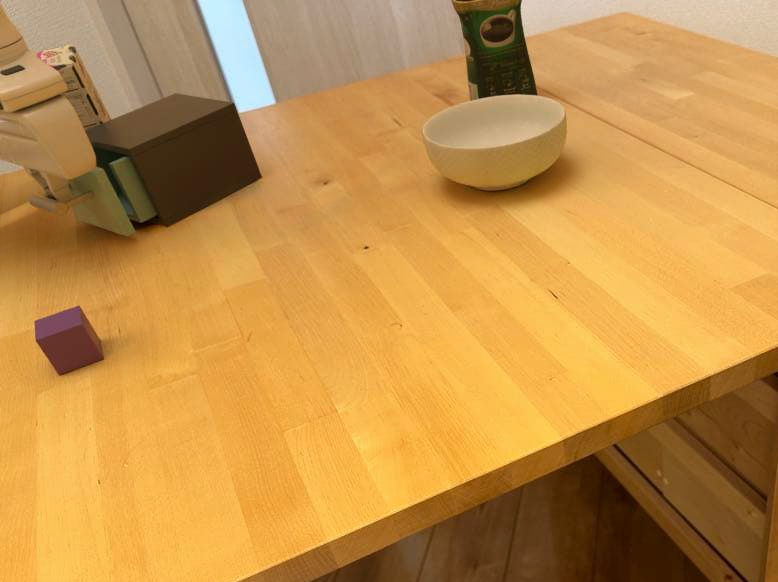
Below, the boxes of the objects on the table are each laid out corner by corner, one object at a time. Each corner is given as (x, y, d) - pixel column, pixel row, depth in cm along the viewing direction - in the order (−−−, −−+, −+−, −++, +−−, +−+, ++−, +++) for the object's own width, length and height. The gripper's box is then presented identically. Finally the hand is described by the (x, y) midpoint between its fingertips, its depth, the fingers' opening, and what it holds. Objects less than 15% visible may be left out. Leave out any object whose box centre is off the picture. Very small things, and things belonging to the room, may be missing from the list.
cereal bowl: (590, 187, 86) (585, 125, 82) (448, 222, 84) (435, 160, 80) (548, 137, 99) (541, 81, 95) (423, 166, 97) (410, 111, 92)
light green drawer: (90, 256, 87) (53, 191, 82) (41, 236, 93) (3, 175, 88) (221, 188, 97) (195, 127, 92) (169, 175, 103) (143, 116, 98)
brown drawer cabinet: (167, 227, 92) (129, 149, 86) (111, 209, 99) (72, 135, 93) (262, 177, 101) (234, 102, 95) (205, 163, 107) (175, 93, 101)
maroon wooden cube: (56, 355, 73) (33, 320, 70) (100, 339, 74) (79, 305, 72) (59, 375, 70) (35, 340, 68) (104, 359, 71) (82, 323, 69)
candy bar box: (97, 170, 111) (35, 51, 100) (132, 160, 112) (75, 42, 102) (97, 197, 103) (30, 71, 92) (136, 186, 104) (74, 61, 93)
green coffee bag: (528, 89, 114) (510, -52, 103) (543, 105, 108) (525, -43, 97) (466, 103, 113) (440, -38, 101) (477, 120, 107) (451, -28, 95)
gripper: (-80, 79, 83) (-6, 198, 92) (8, 97, 72) (82, 228, 81) (-22, 60, 86) (44, 176, 95) (69, 74, 76) (134, 203, 85)
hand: (62, 201), depth 88 cm, fingers closed, pressing on light green drawer
